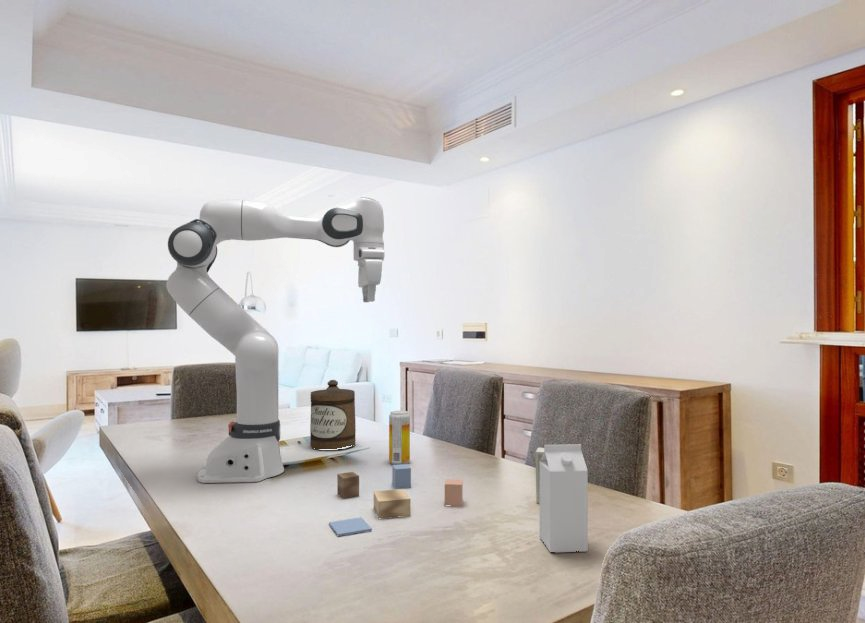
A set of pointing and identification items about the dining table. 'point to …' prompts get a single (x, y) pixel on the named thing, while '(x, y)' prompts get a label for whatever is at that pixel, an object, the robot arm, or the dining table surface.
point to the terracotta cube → (453, 492)
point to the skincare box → (538, 472)
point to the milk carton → (564, 498)
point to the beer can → (399, 437)
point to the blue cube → (401, 476)
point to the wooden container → (332, 417)
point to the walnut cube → (348, 485)
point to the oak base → (391, 503)
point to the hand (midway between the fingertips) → (368, 302)
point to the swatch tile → (349, 526)
